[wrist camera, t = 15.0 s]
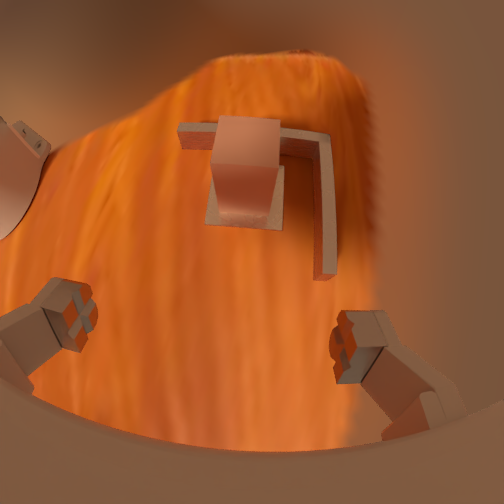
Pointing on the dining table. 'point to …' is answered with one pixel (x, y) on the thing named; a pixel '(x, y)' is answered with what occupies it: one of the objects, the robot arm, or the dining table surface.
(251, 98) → the dining table surface
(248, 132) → the block
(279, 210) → the corner wall
